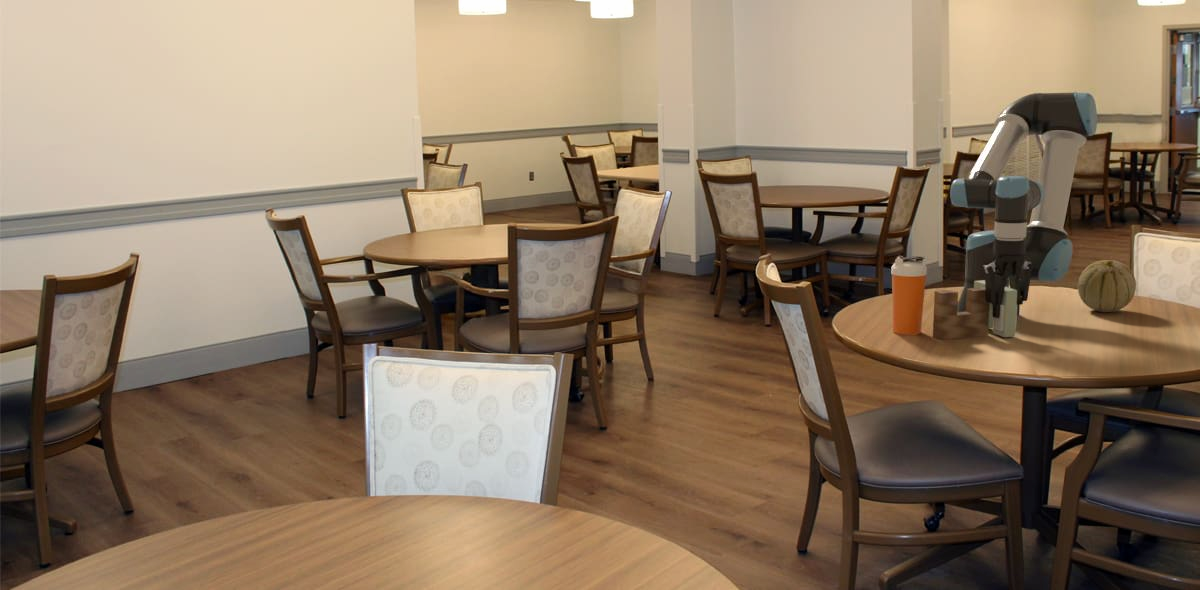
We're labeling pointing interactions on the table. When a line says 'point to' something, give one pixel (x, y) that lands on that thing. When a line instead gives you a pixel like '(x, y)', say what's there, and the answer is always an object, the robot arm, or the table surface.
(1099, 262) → the cantaloupe
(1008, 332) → the slot plate
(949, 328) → the brown wooden slotted board
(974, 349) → the table surface
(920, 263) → the shaker bottle
